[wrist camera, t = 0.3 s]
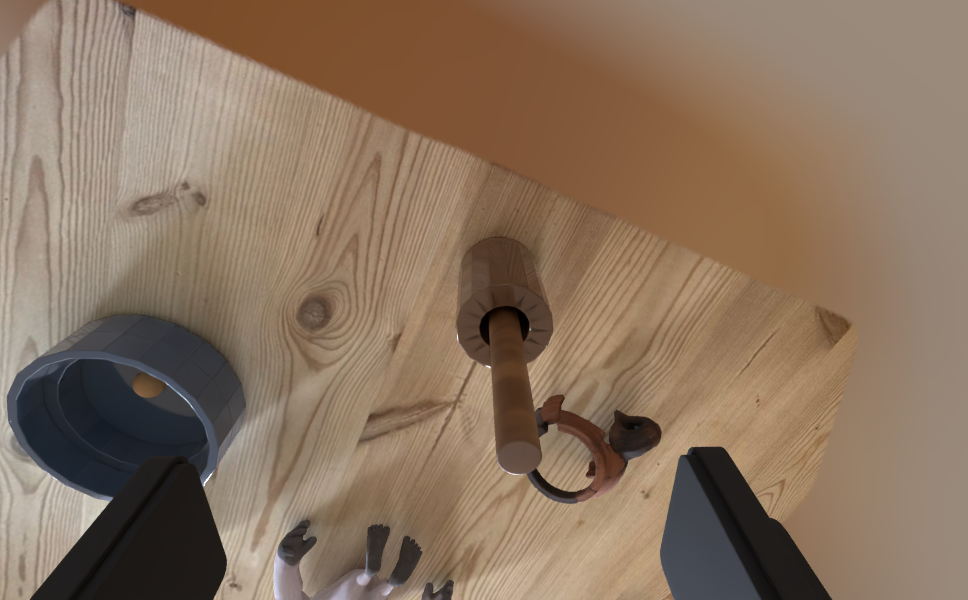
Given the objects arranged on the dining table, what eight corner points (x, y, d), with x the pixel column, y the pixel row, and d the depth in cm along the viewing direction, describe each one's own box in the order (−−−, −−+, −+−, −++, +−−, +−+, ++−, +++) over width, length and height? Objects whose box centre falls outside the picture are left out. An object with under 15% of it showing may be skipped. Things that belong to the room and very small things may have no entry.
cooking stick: (496, 259, 39) (516, 433, 21) (516, 273, 40) (551, 454, 22) (480, 278, 40) (487, 461, 22) (500, 291, 41) (522, 482, 23)
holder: (492, 220, 39) (497, 265, 30) (553, 266, 40) (572, 320, 32) (444, 280, 41) (436, 336, 33) (504, 321, 42) (511, 384, 34)
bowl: (102, 276, 40) (44, 312, 35) (278, 374, 44) (251, 419, 39) (40, 402, 45) (-19, 450, 40) (203, 479, 50) (170, 531, 44)
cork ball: (149, 358, 43) (132, 374, 40) (177, 372, 43) (161, 389, 41) (138, 377, 43) (121, 394, 41) (166, 390, 44) (150, 408, 42)
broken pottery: (571, 480, 51) (543, 527, 44) (528, 396, 52) (493, 429, 44) (685, 446, 45) (675, 494, 38) (635, 352, 46) (616, 382, 39)
